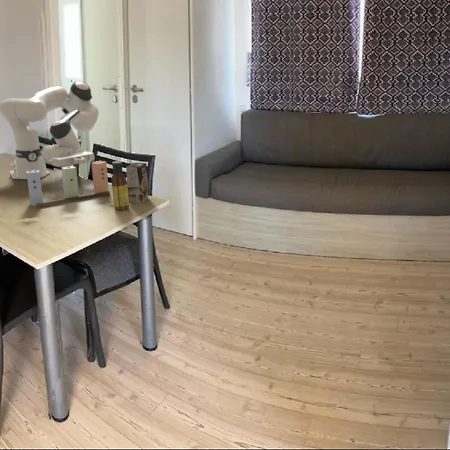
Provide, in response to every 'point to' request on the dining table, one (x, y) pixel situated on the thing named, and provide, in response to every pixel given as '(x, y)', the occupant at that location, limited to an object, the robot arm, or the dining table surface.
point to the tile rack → (73, 199)
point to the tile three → (100, 176)
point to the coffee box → (137, 182)
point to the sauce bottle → (119, 187)
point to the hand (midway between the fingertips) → (83, 161)
